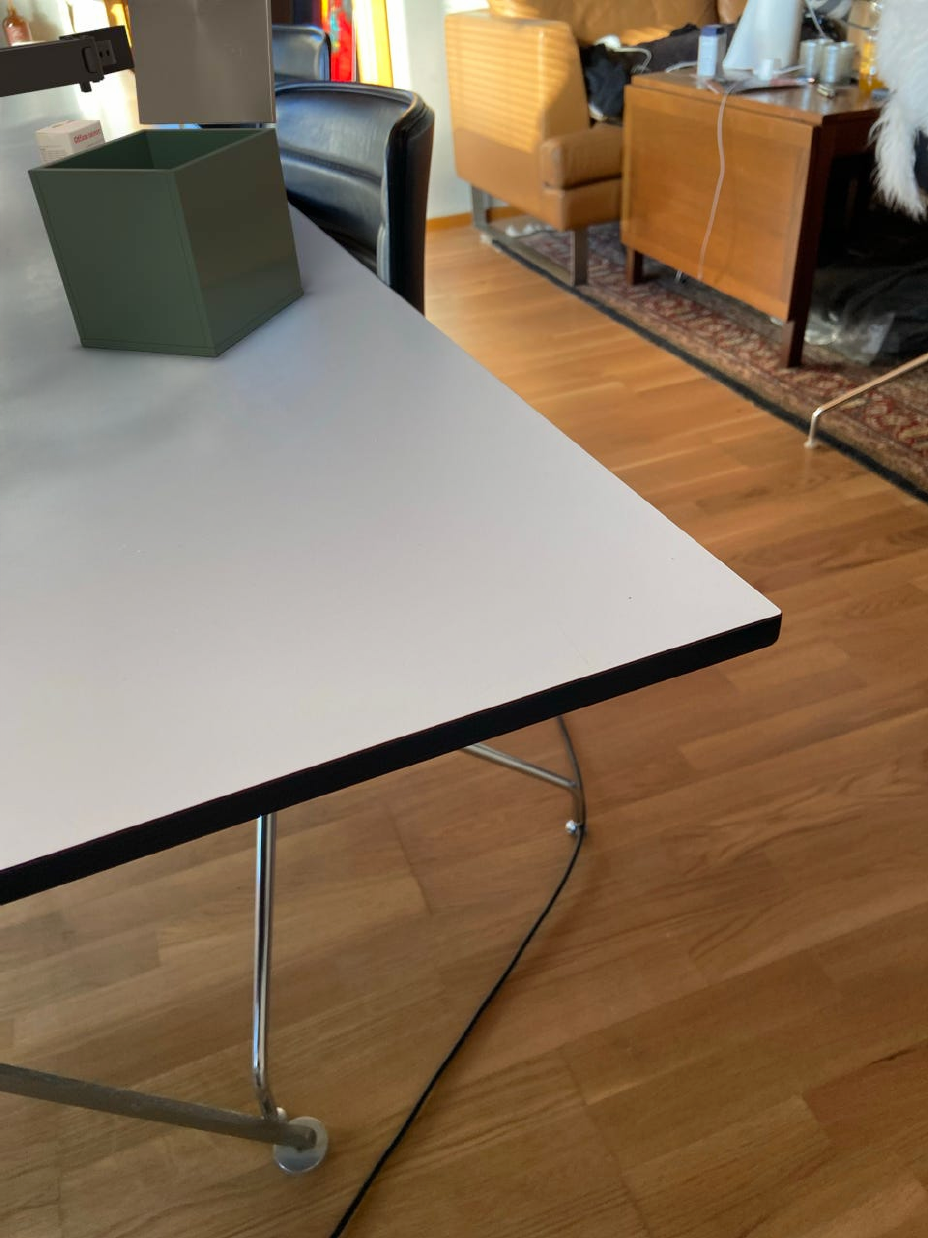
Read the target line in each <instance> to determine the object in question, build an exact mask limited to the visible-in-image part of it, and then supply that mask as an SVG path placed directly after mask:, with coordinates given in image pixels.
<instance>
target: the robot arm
mask: <svg viewBox="0 0 928 1238" xmlns="http://www.w3.org/2000/svg"><path fill="white" fill-rule="evenodd" d="M126 29H127V28H126V25H125V24H119V25H112V26H107V27H103V28H96V29H92V30H86V31H80V32H75V33H70V34H64V35H59V36H58V39H55V40H49V41H47V40H46V41H40V42H32V43H24V44H17V45H9V46H2V47H0V98H7V97H10V96H17V95H22V94H27V93H28V94H29V93H34V92H41V91H45V90H46V91H47V90H51V89H57V88H61V87H62V88H63V87H68V86H74V85H79V88H80V92H82V93H83V94H84V93H86V94H87V93H92V92H93V89H92V85H91V83H92V84H97V83H100V82H101V81H104V80H105V78H106V77H105V76H107V75H111V74H115V73H119V72H124V71H127V70H131V69H134V68H135V65H134V60H133V52H132V50H131V46H130V41H129V37H128V33H127V30H126Z"/></svg>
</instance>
